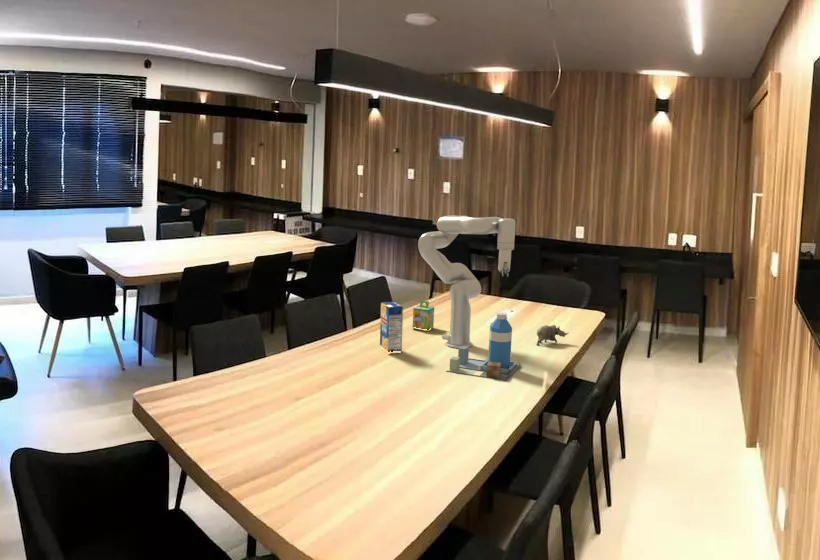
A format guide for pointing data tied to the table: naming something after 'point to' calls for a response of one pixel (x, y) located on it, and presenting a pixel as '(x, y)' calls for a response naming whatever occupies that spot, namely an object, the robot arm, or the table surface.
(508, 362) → the water bottle
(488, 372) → the walnut cube
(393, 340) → the beverage box
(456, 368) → the strip
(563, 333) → the rhinoceros figurine
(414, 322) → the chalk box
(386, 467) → the table surface
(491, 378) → the lane rails
